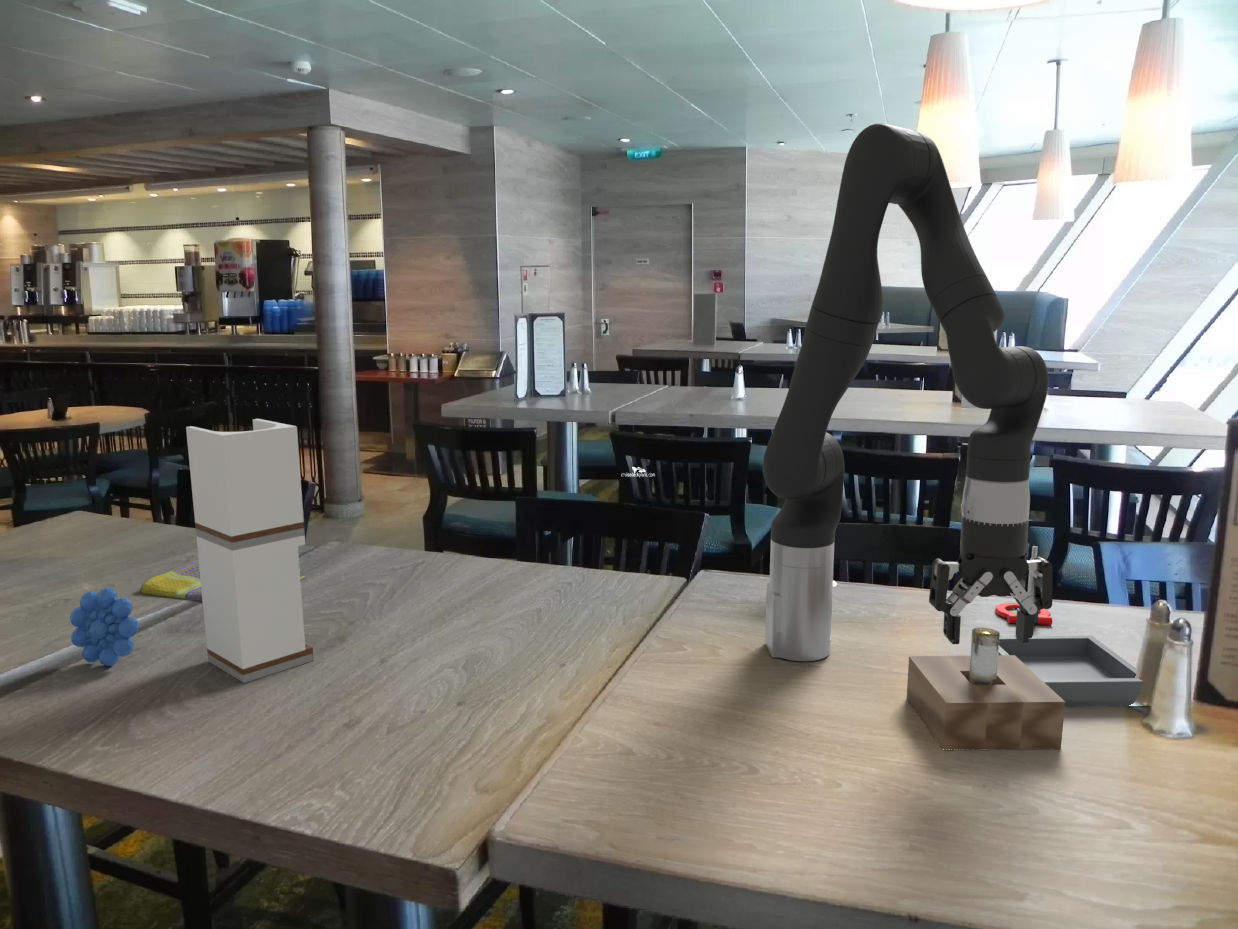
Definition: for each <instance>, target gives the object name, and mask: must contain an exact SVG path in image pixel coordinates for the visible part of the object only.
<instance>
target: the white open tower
mask: <svg viewBox="0 0 1238 929" xmlns="http://www.w3.org/2000/svg"><path fill="white" fill-rule="evenodd" d="M252 427H253V428H252V429H253V430H247V431H246V430H245V431H217V430H216V431H214V430H212V429H207V428H202V427H198V426H192V425H190V426H186V427H185V430H186V441H187V450H188V460H189V461H188V462H189V471H190V472H189V473H190V482H191V491H192V492H191V493H192V494H191V495H192V503H193V504H192V505H193V513H194V515H193V516H194V524H195V525H194V526H195V534H196V535H195V537H196V544H197V545H196V547H197V557H198V558H197V559H199V569H200V580H201V590H202V611H203V619H204V630H205V642H206V650H207V651H206V652H207V661H208V662H209V663H210V664H211V665H214V666H216V668H219V669H220V670H222V671H224V672H225V673H227V674H228V675H230V676H232V677H233V678H235V679H237V680H239V681H240V682H242V683H243V684H246V683H248V682H251V681H254V680H258V679H261V678H264V677H267V676H270V675H273V674H277V673H280V672H283V671H286V670H289V669H292V668H295V667H299V666H302V665H304V664H308V663H311V662H314V661H315V660H314V647H312V646H310V645H308V644H306V640H305V636H306V635H305V624H304V611H303V598H302V584H301V581H300V576H301V573H300V569H301V567H300V558H299V557H300V556H299V547H300V546H305V545H306V538H305V537H306V536H305V534H306V533H305V523H304V522H305V521H304V509H303V508H304V507H303V494H302V492H303V491H302V480H301V479H302V478H301V466H300V464H301V463H300V454H299V453H300V451H299V437H298V426H296V425H292V424H288V423H287V424H286V423H281V422H278V421H272V420H266V419H263V418H255V419H253V418H252Z"/></svg>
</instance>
